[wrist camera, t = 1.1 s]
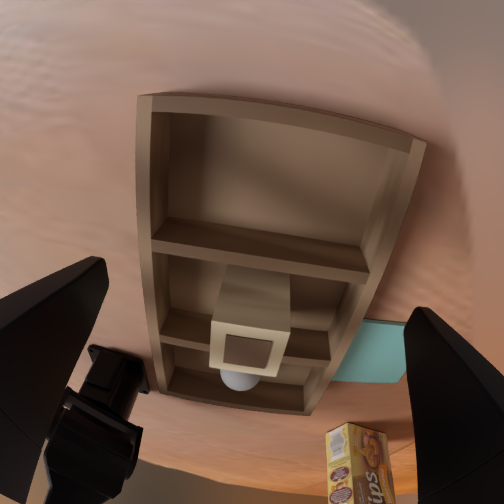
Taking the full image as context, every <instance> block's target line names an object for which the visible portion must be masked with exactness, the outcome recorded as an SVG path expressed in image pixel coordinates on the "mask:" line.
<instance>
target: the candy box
mask: <svg viewBox="0 0 504 504" xmlns="http://www.w3.org/2000/svg"><path fill="white" fill-rule="evenodd" d="M326 451H327V473H328V504H396V502H395V493H394V485H393V477H392V470H391V463H390V457H389V450H388V444H387V438H386V434H384V433H381V432H377V431H373V430H370V429H367V428H363V427H360V426H357V425H354V424H350V423H346V424H344V425H342V426H340V427H338V428H336V429H334V430H332V431H330V432H328V433H326Z"/></svg>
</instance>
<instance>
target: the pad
mask: <svg viewBox="0 0 504 504" xmlns="http://www.w3.org/2000/svg"><path fill="white" fill-rule="evenodd" d="M405 325H406V323H400V322H389V321H379V320H369V319H363V320H362V322H361V324H360V326H359V328H358V330H357V332H356V334H355V336H354V338H353V340H352V342H351V344H350V346H349V348H348V350H347V352H346V354H345V356H344V358H343V360H342V361H341V363H340V365H339V367H338V369H337V371H336V372H335V374H334V376H333V378H332V380H331V381H344V382H369V383H397V382H398V381H399V380H400V379H401V377H402V376H403V375H404V373H405V372H406V359H405V347H404V337H403V331H404V327H405Z"/></svg>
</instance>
